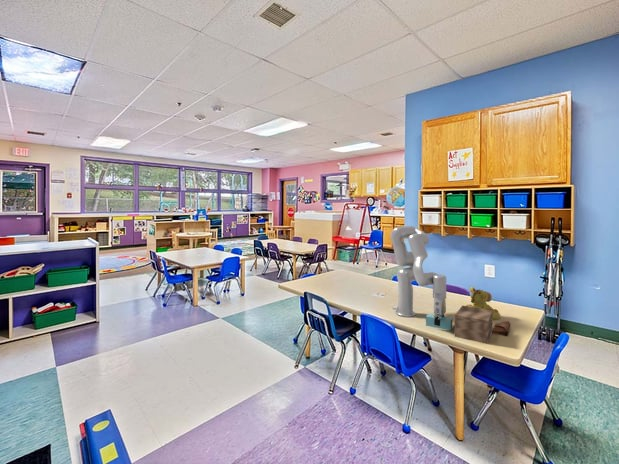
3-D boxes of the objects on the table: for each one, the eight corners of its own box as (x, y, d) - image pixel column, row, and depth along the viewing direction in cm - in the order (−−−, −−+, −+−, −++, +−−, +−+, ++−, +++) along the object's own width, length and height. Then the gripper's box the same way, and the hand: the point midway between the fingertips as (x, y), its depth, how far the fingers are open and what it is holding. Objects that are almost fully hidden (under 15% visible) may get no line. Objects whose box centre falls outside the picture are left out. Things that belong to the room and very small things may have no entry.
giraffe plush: (504, 317, 199) (505, 288, 197) (487, 325, 185) (488, 294, 183) (472, 309, 215) (473, 282, 214) (455, 316, 201) (455, 288, 200)
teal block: (425, 325, 186) (426, 316, 185) (427, 323, 190) (428, 314, 189) (450, 330, 177) (450, 321, 177) (452, 328, 182) (452, 318, 181)
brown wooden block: (454, 336, 169) (455, 314, 168) (461, 325, 185) (462, 305, 184) (487, 343, 160) (488, 320, 159) (492, 331, 175) (492, 310, 174)
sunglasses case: (494, 323, 188) (500, 315, 185) (505, 331, 184) (512, 323, 182) (490, 332, 173) (498, 324, 171) (502, 341, 170) (510, 333, 168)
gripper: (442, 299, 173) (442, 328, 174) (449, 293, 187) (449, 320, 188) (428, 297, 178) (428, 326, 179) (436, 291, 191) (436, 317, 192)
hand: (439, 322), depth 183 cm, fingers open, 9 cm apart
